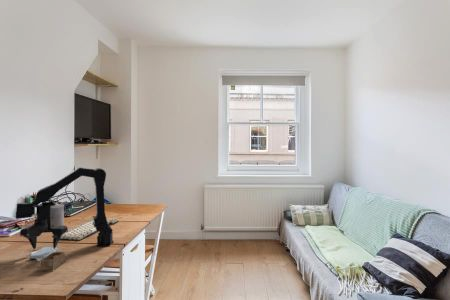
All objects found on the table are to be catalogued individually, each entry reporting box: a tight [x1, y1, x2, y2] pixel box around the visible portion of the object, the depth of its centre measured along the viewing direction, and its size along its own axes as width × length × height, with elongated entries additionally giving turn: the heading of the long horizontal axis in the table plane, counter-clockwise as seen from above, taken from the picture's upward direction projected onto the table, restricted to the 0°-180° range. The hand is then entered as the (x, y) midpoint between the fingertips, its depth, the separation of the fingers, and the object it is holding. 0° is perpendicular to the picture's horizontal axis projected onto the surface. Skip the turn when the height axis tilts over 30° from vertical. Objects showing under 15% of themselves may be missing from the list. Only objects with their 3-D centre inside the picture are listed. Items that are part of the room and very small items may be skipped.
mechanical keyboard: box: [59, 217, 120, 242], centre depth 163 cm, size 38×19×3 cm, turn 174°
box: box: [40, 251, 66, 272], centre depth 114 cm, size 5×9×4 cm, turn 2°
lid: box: [29, 246, 59, 259], centre depth 125 cm, size 7×10×1 cm, turn 2°
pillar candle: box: [51, 203, 65, 228], centre depth 167 cm, size 10×10×15 cm
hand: (44, 248), depth 125 cm, fingers open, 9 cm apart
